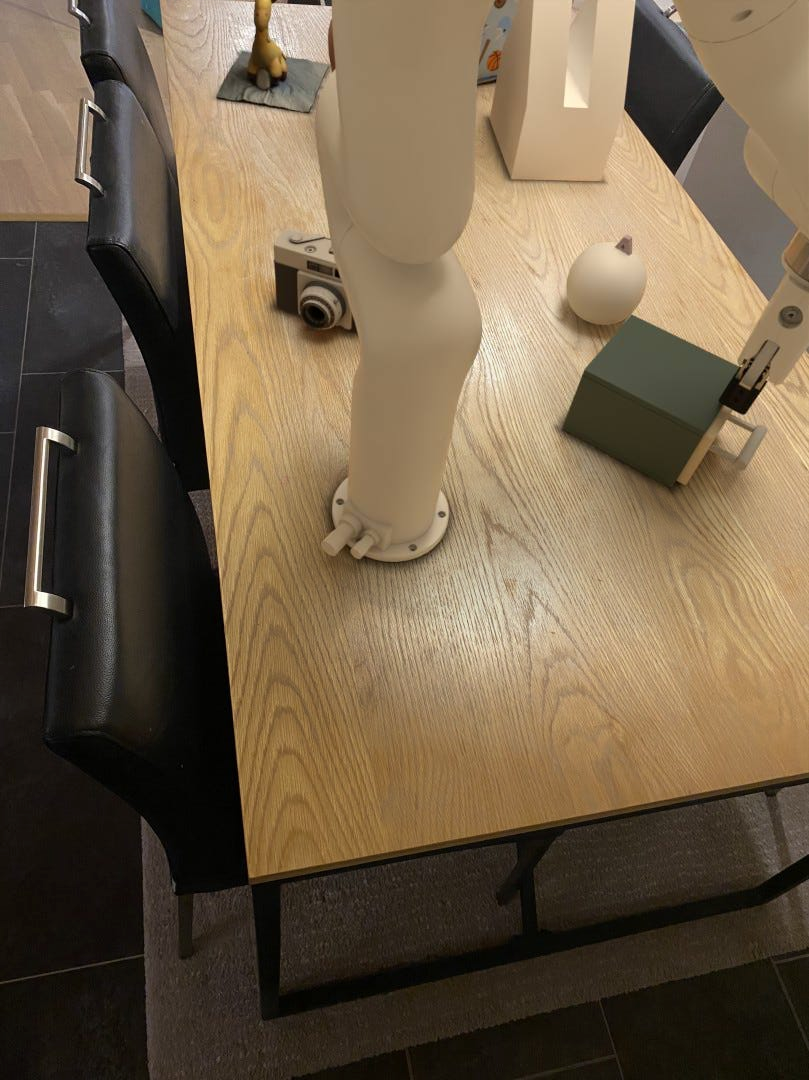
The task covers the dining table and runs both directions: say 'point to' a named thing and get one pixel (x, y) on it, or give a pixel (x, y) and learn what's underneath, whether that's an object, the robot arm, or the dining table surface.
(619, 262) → the ornament
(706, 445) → the drawer
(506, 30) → the lunch box
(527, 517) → the dining table surface
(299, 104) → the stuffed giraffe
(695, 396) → the cabinet
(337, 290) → the camera
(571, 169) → the beige slotted block
